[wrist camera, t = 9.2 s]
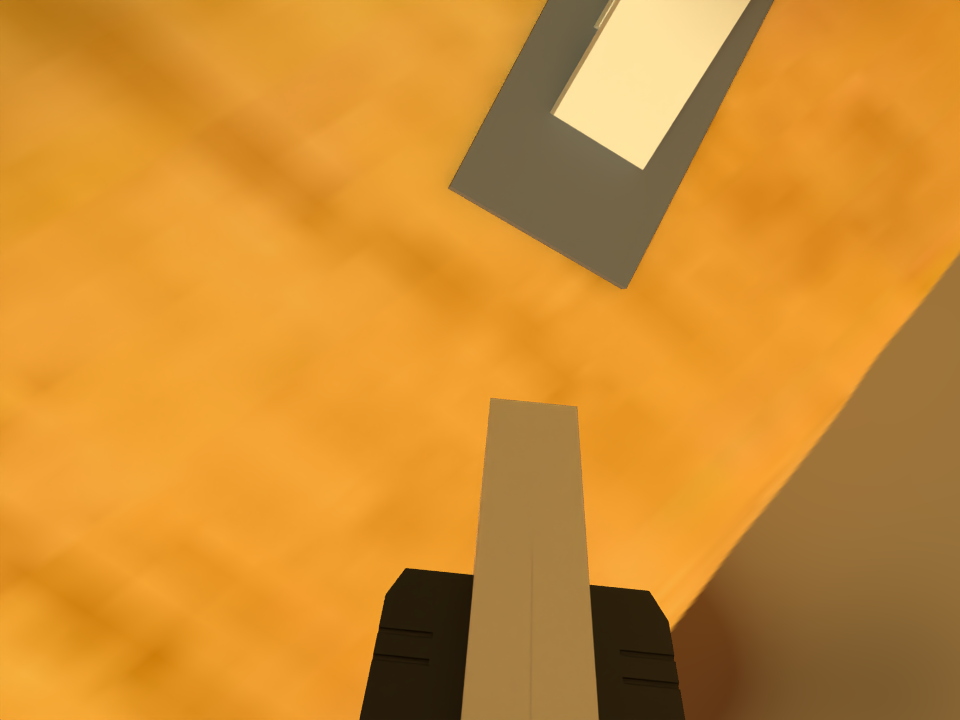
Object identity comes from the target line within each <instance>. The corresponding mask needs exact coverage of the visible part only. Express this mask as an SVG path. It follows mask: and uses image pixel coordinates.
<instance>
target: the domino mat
mask: <svg viewBox="0 0 960 720" xmlns="http://www.w3.org/2000/svg"><path fill="white" fill-rule="evenodd" d="M608 1H609V0H548V1H547V3H546V5H545V7H544V8H543V10H542V12H541V14H540V16H539V18H538V20H537V22H536V24H535V25H534V27H533V29H532V31H531V33H530V35H529V37H528V39H527V41H526V42H525V44H524V46H523V48H522V50H521V52H520V54H519V56H518V57H517V59H516V61H515V63H514V65H513V67H512V69H511V71H510V73H509V74H508V76H507V78H506V80H505V82H504V84H503V86H502V88H501V90H500V91H499V93H498V95H497V97H496V99H495V101H494V103H493V105H492V107H491V108H490V110H489V112H488V114H487V116H486V118H485V120H484V122H483V124H482V125H481V127H480V129H479V131H478V133H477V135H476V137H475V139H474V141H473V142H472V144H471V146H470V148H469V150H468V152H467V154H466V156H465V157H464V159H463V161H462V163H461V165H460V167H459V169H458V171H457V173H456V174H455V176H454V178H453V180H452V182H451V184H450V186H449V188H448V189H450V190H452V191H454V192H455V193H457V194H459V195H460V196H462V197H464V198H466V199H467V200H469V201H471V202H473V203H474V204H476V205H478V206H479V207H481V208H483V209H485V210H486V211H488V212H490V213H491V214H493V215H495V216H497V217H498V218H500V219H502V220H504V221H505V222H507V223H509V224H510V225H512V226H514V227H516V228H517V229H519V230H521V231H523V232H524V233H526V234H528V235H529V236H531V237H533V238H535V239H536V240H538V241H540V242H541V243H543V244H545V245H547V246H548V247H550V248H552V249H554V250H555V251H557V252H559V253H560V254H562V255H564V256H566V257H567V258H569V259H571V260H572V261H574V262H576V263H578V264H579V265H581V266H583V267H585V268H586V269H588V270H590V271H591V272H593V273H595V274H597V275H598V276H600V277H602V278H604V279H605V280H607V281H609V282H610V283H612V284H614V285H616V286H617V287H619V288H621V289H626V288H627V286H628V284H629V282H630V280H631V279H632V277H633V275H634V273H635V271H636V269H637V267H638V265H639V263H640V261H641V259H642V257H643V255H644V253H645V251H646V249H647V247H648V245H649V243H650V241H651V239H652V237H653V236H654V234H655V232H656V230H657V228H658V226H659V224H660V222H661V220H662V218H663V216H664V214H665V212H666V210H667V208H668V206H669V204H670V202H671V200H672V198H673V196H674V194H675V193H676V191H677V189H678V187H679V185H680V183H681V181H682V179H683V177H684V175H685V173H686V171H687V169H688V167H689V165H690V163H691V161H692V159H693V157H694V155H695V153H696V151H697V149H698V148H699V146H700V144H701V142H702V140H703V138H704V136H705V134H706V132H707V130H708V128H709V126H710V124H711V122H712V120H713V118H714V116H715V114H716V112H717V110H718V108H719V106H720V105H721V103H722V101H723V99H724V97H725V95H726V93H727V91H728V89H729V87H730V85H731V83H732V81H733V79H734V77H735V75H736V73H737V71H738V69H739V67H740V65H741V63H742V62H743V60H744V58H745V56H746V54H747V52H748V50H749V48H750V46H751V44H752V42H753V40H754V38H755V36H756V34H757V32H758V30H759V28H760V26H761V24H762V22H763V20H764V19H765V17H766V15H767V13H768V11H769V9H770V7H771V5H772V3H773V1H774V0H750V2H749V3H748V5H747V6H746V8H745V10H744V11H743V13H742V14H741V16H740V18H739V19H738V21H737V22H736V24H735V25H734V27H733V29H732V30H731V32H730V33H729V35H728V36H727V38H726V40H725V41H724V43H723V44H722V46H721V48H720V49H719V51H718V52H717V54H716V55H715V57H714V59H713V60H712V62H711V63H710V65H709V66H708V68H707V70H706V71H705V73H704V74H703V76H702V78H701V79H700V81H699V82H698V84H697V85H696V87H695V89H694V90H693V92H692V93H691V95H690V97H689V98H688V100H687V101H686V103H685V104H684V106H683V108H682V109H681V111H680V112H679V114H678V115H677V117H676V119H675V120H674V122H673V123H672V125H671V127H670V128H669V130H668V131H667V133H666V134H665V136H664V138H663V139H662V141H661V142H660V144H659V145H658V147H657V149H656V150H655V152H654V153H653V155H652V157H651V158H650V160H649V161H648V163H647V164H646V166H645V168H644V169H643V170H642V169H640V168H639V167H637V166H635V165H634V164H632V163H631V162H629V161H627V160H626V159H624V158H622V157H621V156H619V155H618V154H616V153H614V152H613V151H611V150H609V149H608V148H606V147H604V146H603V145H601V144H600V143H598V142H596V141H595V140H593V139H591V138H590V137H588V136H587V135H585V134H583V133H582V132H580V131H578V130H577V129H575V128H574V127H572V126H570V125H569V124H567V123H565V122H564V121H562V120H561V119H559V118H557V117H556V116H554V115H552V114H551V113H550V111H551V110H552V108H553V106H554V104H555V103H556V101H557V99H558V98H559V96H560V94H561V92H562V91H563V89H564V87H565V85H566V84H567V82H568V80H569V79H570V77H571V75H572V73H573V72H574V70H575V68H576V67H577V65H578V63H579V61H580V60H581V58H582V56H583V54H584V53H585V51H586V49H587V48H588V46H589V44H590V42H591V41H592V39H593V37H594V36H595V34H596V32H597V30H598V29H596V28H595V27H594V25H595V23H596V22H597V20H598V18H599V17H600V15H601V13H602V11H603V10H604V8H605V6H606V5H607V3H608Z"/></svg>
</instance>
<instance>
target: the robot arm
mask: <svg viewBox="0 0 960 720" xmlns="http://www.w3.org/2000/svg"><path fill="white" fill-rule="evenodd" d="M678 685H679V680H678V675H677V669H676V663H675V662H674V651H673V645H672V640H671V633H670V627H669V621H668V620H667V618H666V617H665V615H664V614H663V612H662V610H661V609H660V607H659V606H658V604H657V602H656V601H655V599H654V598H653V596H652V595H651V593H650V591H645V590H635V589H625V588H616V587H606V586H596V585H589V571H588V557H587V542H586V528H585V513H584V498H583V484H582V469H581V455H580V440H579V426H578V411H577V407H576V406H566V405H556V404H546V403H536V402H526V401H516V400H506V399H495V398H491V399H490V409H489V418H488V428H487V438H486V448H485V458H484V468H483V477H482V487H481V497H480V507H479V517H478V528H477V538H476V549H475V560H474V571H473V575H468V574H458V573H449V572H439V571H429V570H419V569H409V568H406V569H405V570H404V571H403V572H402V574H401V575H400V576H399V578H398V579H397V580H396V582H395V583H394V584H393V586H392V587H391V588H390V590H389V591H388V592H387V593H386V596H385V600H384V605H383V610H382V615H381V619H380V624H379V631H378V634H377V639H376V643H375V648H374V653H373V660H372V662H371V667H370V672H369V677H368V682H367V686H366V691H365V696H364V701H363V705H362V710H361V715H360V720H685V716H684V710H683V704H682V698H681V692H680V690H679V687H678Z"/></svg>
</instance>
